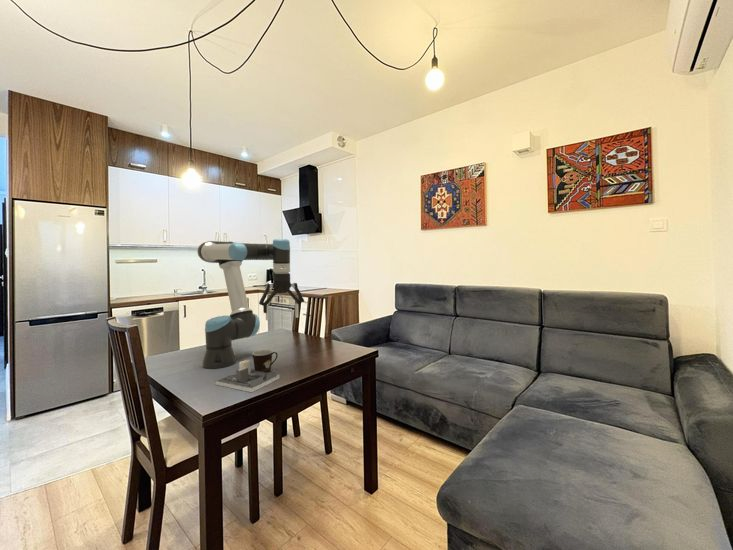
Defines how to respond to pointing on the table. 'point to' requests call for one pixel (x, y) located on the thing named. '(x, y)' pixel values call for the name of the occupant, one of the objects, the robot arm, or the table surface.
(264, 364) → the coffee mug
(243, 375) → the block
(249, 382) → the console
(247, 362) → the fader
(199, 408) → the table surface
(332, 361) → the table surface
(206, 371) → the table surface
